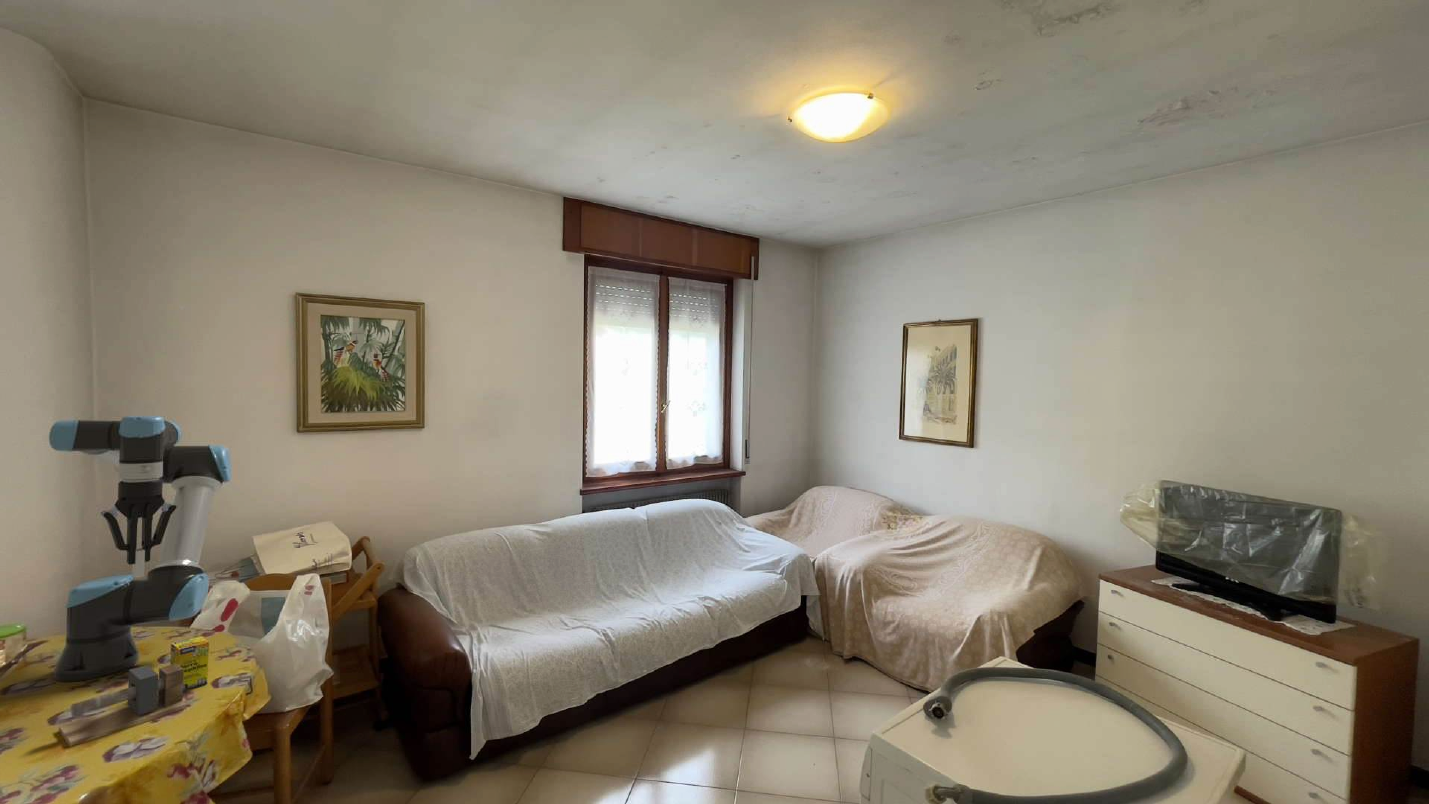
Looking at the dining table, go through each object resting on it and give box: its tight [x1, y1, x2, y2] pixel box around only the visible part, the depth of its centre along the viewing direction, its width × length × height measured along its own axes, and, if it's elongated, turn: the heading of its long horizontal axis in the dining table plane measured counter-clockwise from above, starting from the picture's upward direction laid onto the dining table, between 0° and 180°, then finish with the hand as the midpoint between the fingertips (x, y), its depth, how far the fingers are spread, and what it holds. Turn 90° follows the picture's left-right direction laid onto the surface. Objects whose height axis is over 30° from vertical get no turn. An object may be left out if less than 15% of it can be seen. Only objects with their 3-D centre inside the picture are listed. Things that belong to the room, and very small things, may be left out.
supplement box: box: [169, 635, 210, 692], centre depth 141 cm, size 6×6×11 cm
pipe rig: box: [58, 664, 187, 748], centre depth 126 cm, size 18×10×8 cm, turn 148°
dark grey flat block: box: [127, 664, 159, 716], centre depth 129 cm, size 3×8×8 cm, turn 58°
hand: (138, 576), depth 136 cm, fingers closed
